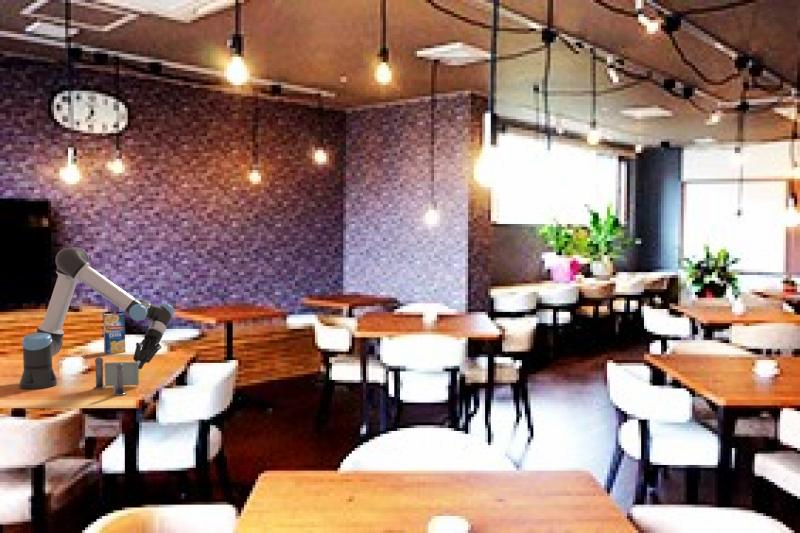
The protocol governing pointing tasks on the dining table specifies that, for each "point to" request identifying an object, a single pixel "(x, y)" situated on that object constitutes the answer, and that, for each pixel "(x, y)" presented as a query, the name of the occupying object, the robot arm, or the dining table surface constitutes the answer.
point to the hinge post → (99, 373)
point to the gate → (128, 373)
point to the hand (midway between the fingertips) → (134, 374)
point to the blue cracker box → (114, 333)
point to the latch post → (119, 381)
